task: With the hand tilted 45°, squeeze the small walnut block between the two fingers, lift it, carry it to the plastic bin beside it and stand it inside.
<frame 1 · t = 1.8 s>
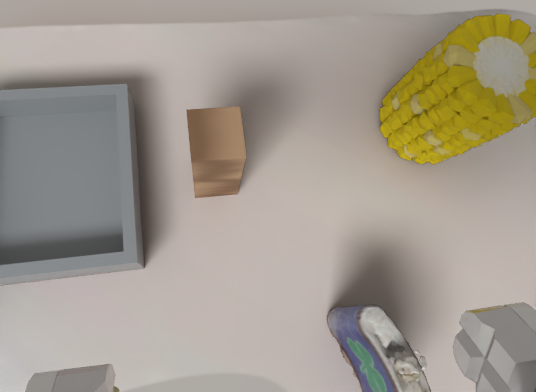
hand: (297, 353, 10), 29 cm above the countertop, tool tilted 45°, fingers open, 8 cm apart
food: (418, 132, 46), on the countertop
bin: (59, 189, 39), on the countertop
flask: (358, 355, 39), on the countertop
block: (214, 176, 42), on the countertop
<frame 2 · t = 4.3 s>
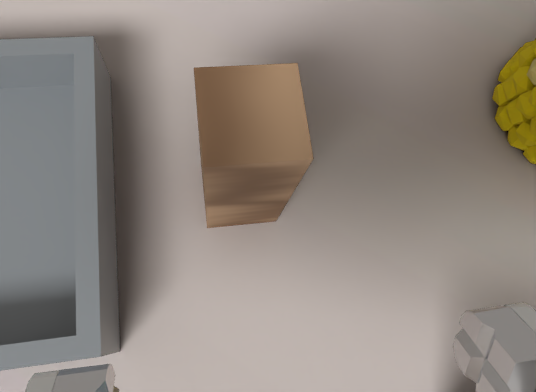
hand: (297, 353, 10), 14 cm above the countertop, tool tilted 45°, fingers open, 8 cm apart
block: (238, 191, 26), on the countertop
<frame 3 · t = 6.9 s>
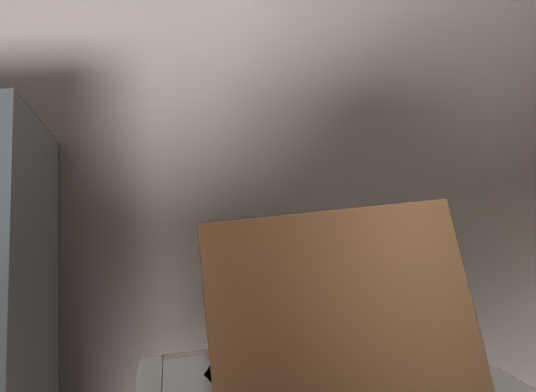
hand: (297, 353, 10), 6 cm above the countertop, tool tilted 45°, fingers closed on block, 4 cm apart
block: (264, 332, 16), on the countertop, touching gripper
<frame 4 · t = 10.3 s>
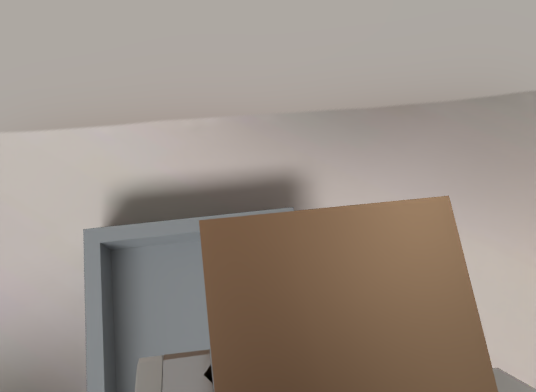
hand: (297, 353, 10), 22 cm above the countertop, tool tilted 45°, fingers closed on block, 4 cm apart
bin: (205, 339, 31), on the countertop
block: (265, 331, 16), point 16 cm above the countertop, touching gripper
when the fingers open (8 cm above the countertop, at t = 13.5 s): block drops 1 cm, resting on bin.
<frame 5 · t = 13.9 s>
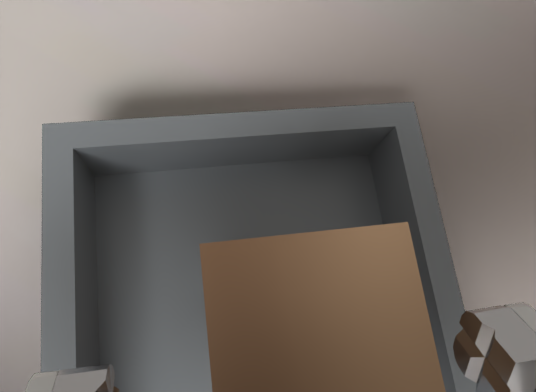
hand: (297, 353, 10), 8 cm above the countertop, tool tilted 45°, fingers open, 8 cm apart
bin: (256, 331, 18), on the countertop
block: (259, 333, 17), point 1 cm above the countertop, touching bin
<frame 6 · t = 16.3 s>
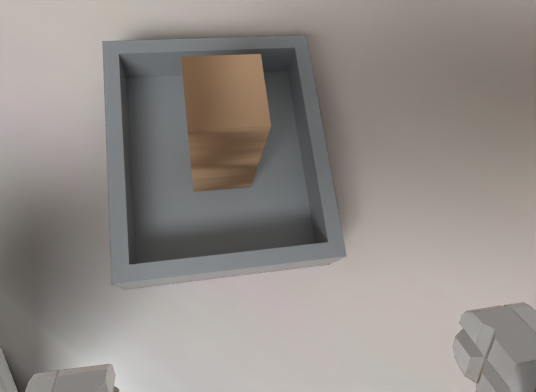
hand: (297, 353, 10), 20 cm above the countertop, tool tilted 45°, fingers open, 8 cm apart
bin: (218, 166, 32), on the countertop
block: (219, 162, 31), point 1 cm above the countertop, touching bin
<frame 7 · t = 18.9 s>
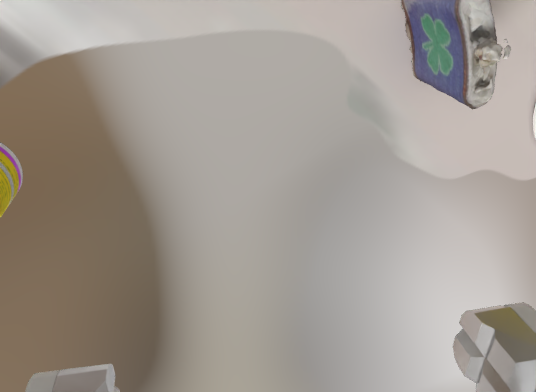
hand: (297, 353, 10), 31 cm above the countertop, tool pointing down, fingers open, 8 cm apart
flask: (419, 31, 39), on the countertop
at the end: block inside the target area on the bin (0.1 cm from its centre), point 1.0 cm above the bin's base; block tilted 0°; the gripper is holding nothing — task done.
